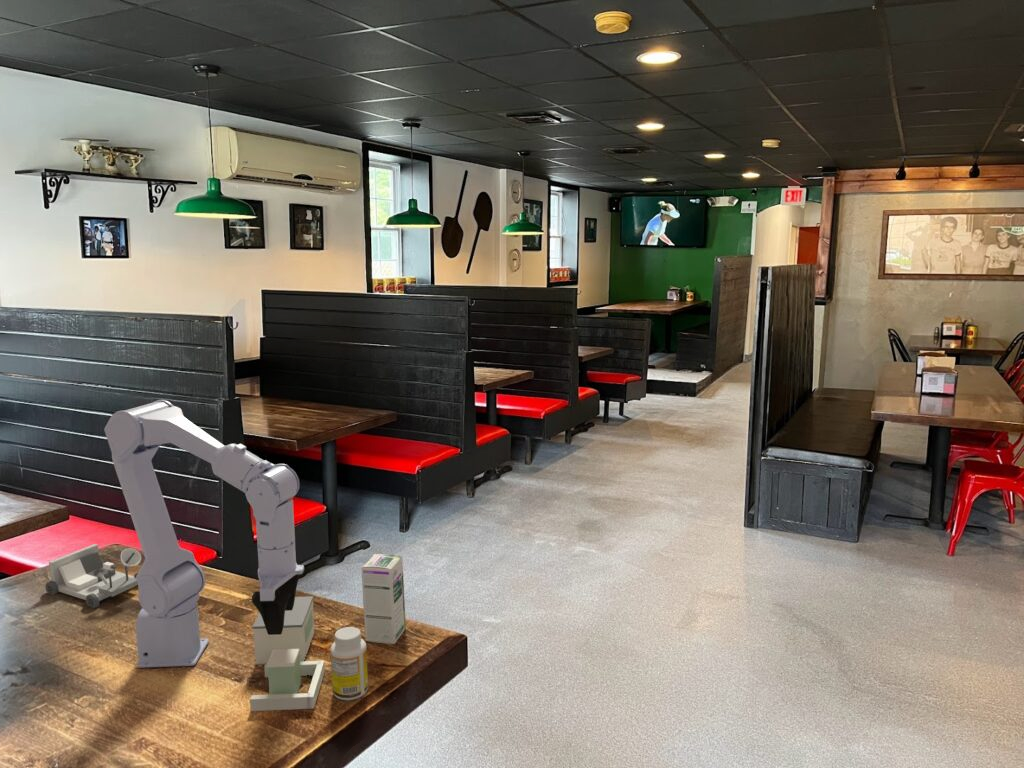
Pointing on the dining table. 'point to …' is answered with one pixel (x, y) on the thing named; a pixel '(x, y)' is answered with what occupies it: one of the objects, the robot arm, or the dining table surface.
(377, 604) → the syrup box
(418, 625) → the dining table surface
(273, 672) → the block
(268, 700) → the dock
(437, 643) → the dining table surface
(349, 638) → the supplement bottle
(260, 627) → the box
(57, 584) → the toy car
